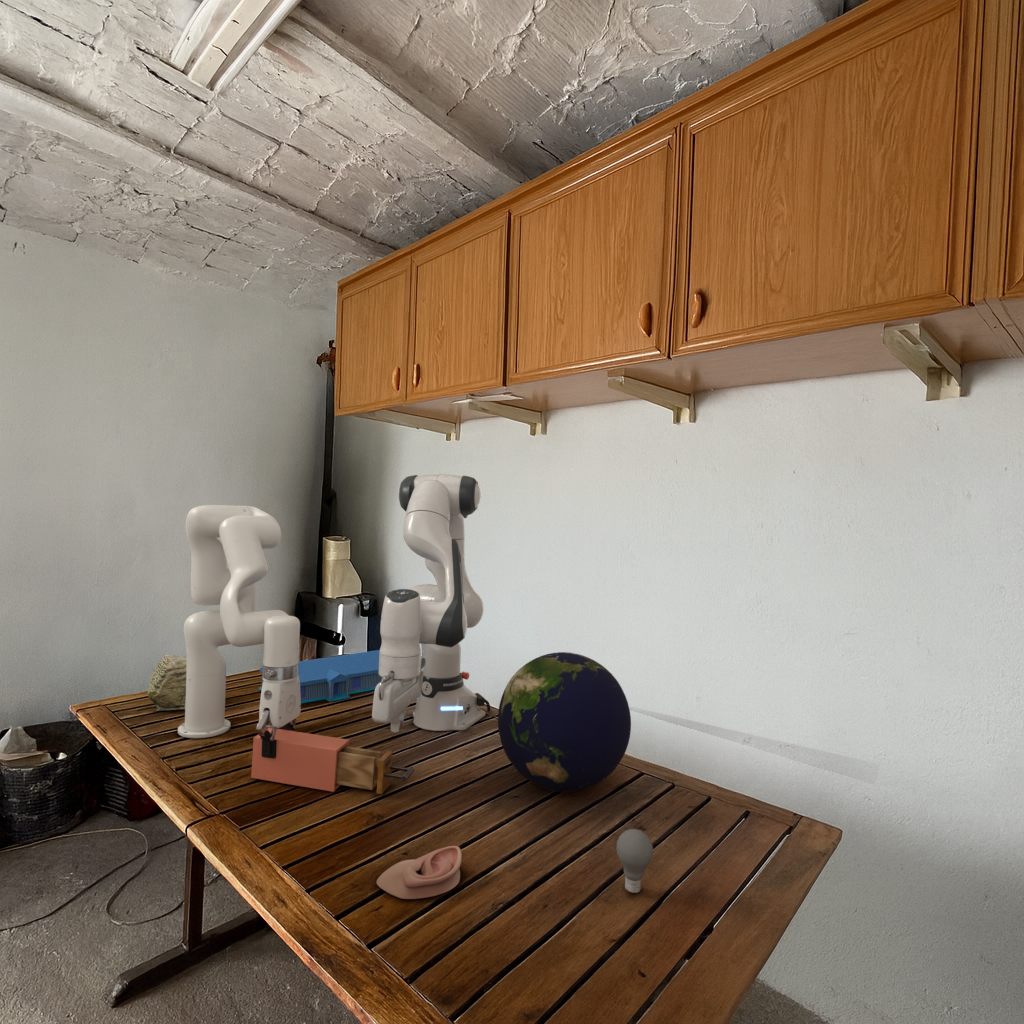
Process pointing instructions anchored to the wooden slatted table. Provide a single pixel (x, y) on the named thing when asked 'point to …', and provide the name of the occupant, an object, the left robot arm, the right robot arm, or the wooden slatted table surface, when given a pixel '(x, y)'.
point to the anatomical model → (423, 874)
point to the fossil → (169, 683)
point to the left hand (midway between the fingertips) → (278, 750)
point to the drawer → (367, 769)
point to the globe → (564, 722)
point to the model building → (337, 676)
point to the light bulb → (634, 857)
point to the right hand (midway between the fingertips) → (397, 729)
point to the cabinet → (299, 760)
